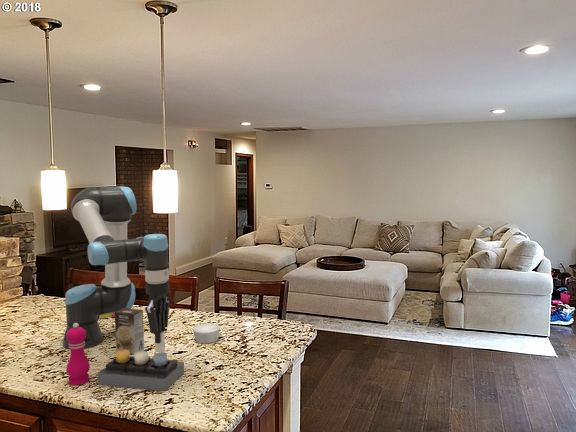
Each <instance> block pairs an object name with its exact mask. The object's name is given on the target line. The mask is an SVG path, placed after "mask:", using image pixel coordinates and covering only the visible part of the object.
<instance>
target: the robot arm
mask: <svg viewBox="0 0 576 432" xmlns="http://www.w3.org/2000/svg"><path fill="white" fill-rule="evenodd" d="M70 211H71V214H72V217H73V218H74V219H75V220H76V221H78V222H79V224H80V226H81V228H82V230H83V232H84V234H85V236H86V239H87V240H88V243H89V244H88V245H87V258H88V262H89V264H90V265H92V266H104V268H105V269H104V273H105V274H104V276H105V277H104V278H103V279H102V280H101V282H100V283H101V284H100V285H101V286H97V285H96V284H94V283H89V284H80V285H77V286H73V287H71V288H70V289H68V290H67V291H66V292H65V298H64V299H65V301H64V304H65V314H66V315H65V316H66V317H65V318H66V329H65V332H64V336H63V338H62V346H63V348H65V347H66V348H65V349H68V348H69V341H68V340H67V338H66V335H67V332H68V331H69V330H70V329H71V328H73V324H74V323H78V324H79V326H78V327H81V328H83V329H84V330H85V331H86V338H85V339H84V341H85V346H84V349H87V348H91V347H95V346H98V345H100V344H101V343H103V341H104V334H103V332H102V329H101V327H100V324H99V321H98V320H99V319H98V318H97V317H98V315H103V314H109V313H115V312H116V311H118V310H121V309H123V308H131V309H132V308H133V307H134V305H135V304H134V303H135V302H136V301H135V300H136V287H135V285H134V283H133V282H131V279H130V278H129V277H128V263H130V262H137V261H144V280H145V282H146V283H145V293H146V295H148V296H149V300H148V303H149V304H148V306H145V308H144V311H145V313H146V316H147V320H148V321H147V322H148V326H149V331H150V332H149V333H150V334H154V347H155V348H154V349H155V351H154V352H155V353H160V352H164V353H165V351H166V347H165V346H166V345H165V344H166V343H165V339H166V338H165V332H167V331H168V327H169V313H170V304H171V297H167V294H169V293H170V281H169V280H170V276H169V275H170V271H169V242H168V237H167V235H166V234H163V233H153V234H151V233H150V234H146V235H145V236H139V237H136V238H128V224H129V222H131V221H132V216H134V215H135V214H136V213H137V199H136V197H135V194H134V191H133V190H132V189H131V188H130V187H128V186H117V185H116V186H114V185H113V186H96V187H95V186H91V187H87V188H84V189H82V190H80V191H79V192H78V193H77V194H76V195H75V196H74V198H73V199H72V201H71V205H70Z"/></svg>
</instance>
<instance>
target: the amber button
mask: <svg viewBox="0 0 576 432" xmlns="http://www.w3.org/2000/svg"><path fill="white" fill-rule="evenodd" d="M130 357H131V354H130V352H129V350H127V349H123V350H119V351H117V352H116V351H115V358H116V362H117V363H119V364H125V365H126V364H127V362H128V361H129V360H130Z"/></svg>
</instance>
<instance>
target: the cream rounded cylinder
mask: <svg viewBox="0 0 576 432" xmlns="http://www.w3.org/2000/svg"><path fill="white" fill-rule="evenodd" d="M133 355H134V356H133V357H135V364H137V365H138V366H145V364H146V363H148V358H149V352H148V351H147V350H142V351H139V352H136V353H135V354H133Z"/></svg>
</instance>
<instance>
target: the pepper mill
mask: <svg viewBox="0 0 576 432" xmlns="http://www.w3.org/2000/svg"><path fill="white" fill-rule="evenodd" d="M78 326H79V324H78V323H74V324H73V328H71V329H70V330H69V331H68V332H67V335H66V338H67V340H68V341H69V348H70V349H69V351H70V357H69V360H68V362H67V365H66V371H65V372H66V374H67V376H69V377H68V384H69V385H70V386H81V385H83V384H86V383H88V382H89V380H90V375H89V371H90V368H91V365H90V362H89V360H88V358H87V355H86V354H85V348H84V346H85V341H84V339H85V338H86V331H85V330H84V329H83V328H81V327H78Z"/></svg>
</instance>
